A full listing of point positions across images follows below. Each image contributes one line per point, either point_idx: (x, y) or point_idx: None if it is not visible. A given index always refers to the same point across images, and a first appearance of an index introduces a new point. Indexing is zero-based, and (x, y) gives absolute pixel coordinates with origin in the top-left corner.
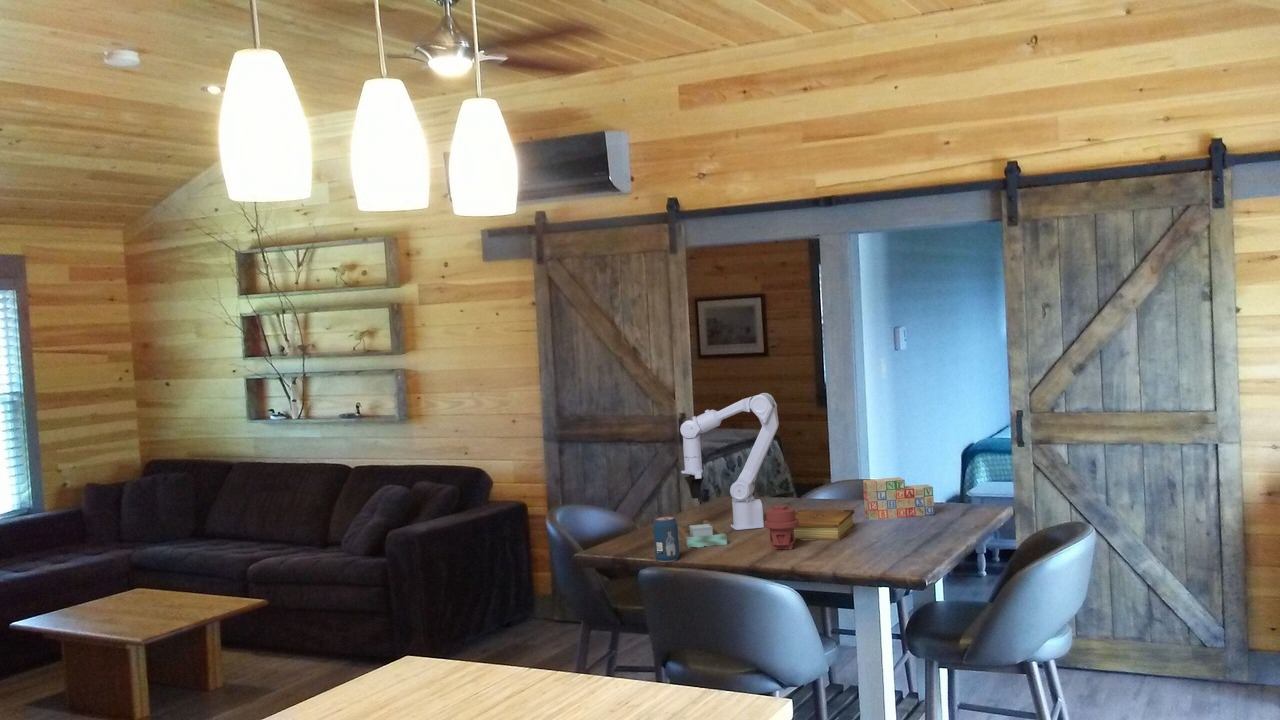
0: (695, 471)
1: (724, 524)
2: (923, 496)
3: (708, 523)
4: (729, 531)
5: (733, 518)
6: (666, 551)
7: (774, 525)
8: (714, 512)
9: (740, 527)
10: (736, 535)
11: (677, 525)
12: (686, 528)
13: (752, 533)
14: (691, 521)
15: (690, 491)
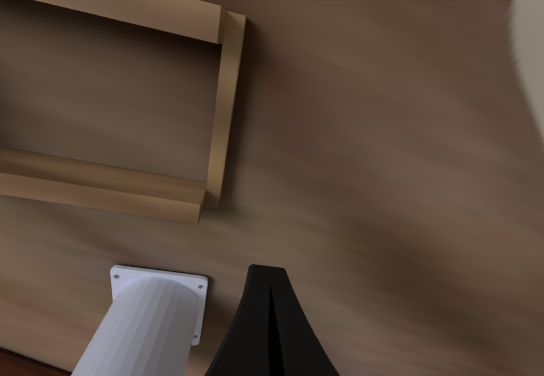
0: None
1: None
2: None
3: (97, 195)
4: (113, 243)
5: (147, 304)
6: None
7: None
8: (500, 320)
9: (124, 286)
10: (9, 233)
11: (117, 13)
12: (215, 107)
13: (33, 283)
14: (433, 214)
15: (275, 312)
